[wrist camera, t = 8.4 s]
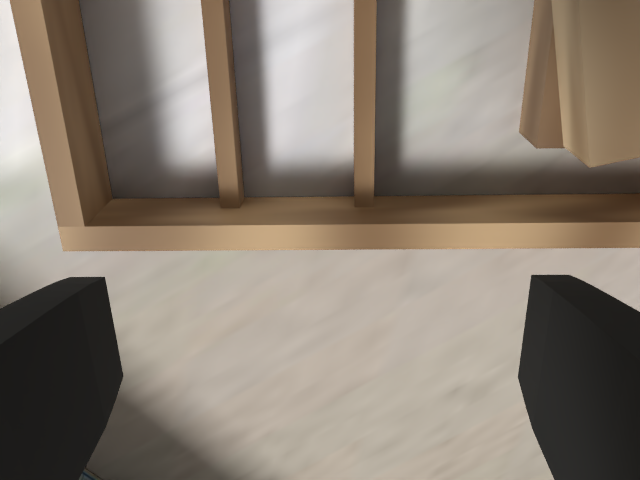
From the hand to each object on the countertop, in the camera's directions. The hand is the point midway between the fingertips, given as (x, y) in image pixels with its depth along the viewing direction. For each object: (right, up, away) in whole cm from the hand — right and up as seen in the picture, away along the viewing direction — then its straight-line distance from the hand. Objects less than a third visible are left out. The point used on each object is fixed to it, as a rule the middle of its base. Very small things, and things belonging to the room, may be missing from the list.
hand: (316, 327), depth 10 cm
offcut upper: (+8, +6, +6) cm, 12 cm away
